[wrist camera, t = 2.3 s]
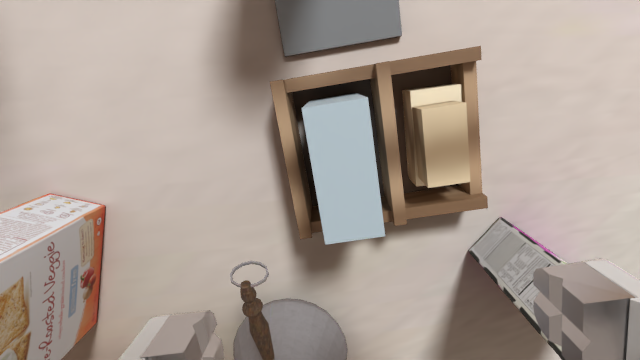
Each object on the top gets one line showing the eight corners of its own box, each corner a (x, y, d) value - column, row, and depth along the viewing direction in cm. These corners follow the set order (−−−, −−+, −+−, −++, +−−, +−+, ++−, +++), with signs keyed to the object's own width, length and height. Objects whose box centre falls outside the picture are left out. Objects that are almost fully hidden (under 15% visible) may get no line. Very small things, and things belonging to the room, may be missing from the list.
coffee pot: (348, 374, 40) (359, 541, 25) (246, 377, 40) (200, 543, 26) (339, 192, 34) (347, 272, 19) (221, 198, 34) (143, 281, 20)
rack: (278, 82, 31) (269, 81, 27) (461, 50, 30) (486, 44, 25) (304, 217, 35) (300, 239, 30) (469, 193, 34) (492, 211, 29)
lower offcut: (401, 90, 32) (410, 91, 28) (446, 84, 31) (461, 84, 28) (407, 176, 34) (416, 186, 30) (450, 171, 33) (463, 181, 30)
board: (310, 100, 32) (301, 108, 21) (354, 92, 31) (368, 97, 21) (326, 194, 34) (325, 244, 23) (367, 188, 34) (385, 236, 23)
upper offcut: (412, 106, 28) (421, 109, 26) (452, 100, 28) (466, 102, 25) (418, 177, 30) (428, 187, 27) (456, 172, 30) (470, 181, 27)
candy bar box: (582, 272, 36) (786, 424, 20) (546, 307, 37) (712, 477, 21) (499, 211, 34) (648, 322, 18) (464, 249, 35) (576, 385, 19)
